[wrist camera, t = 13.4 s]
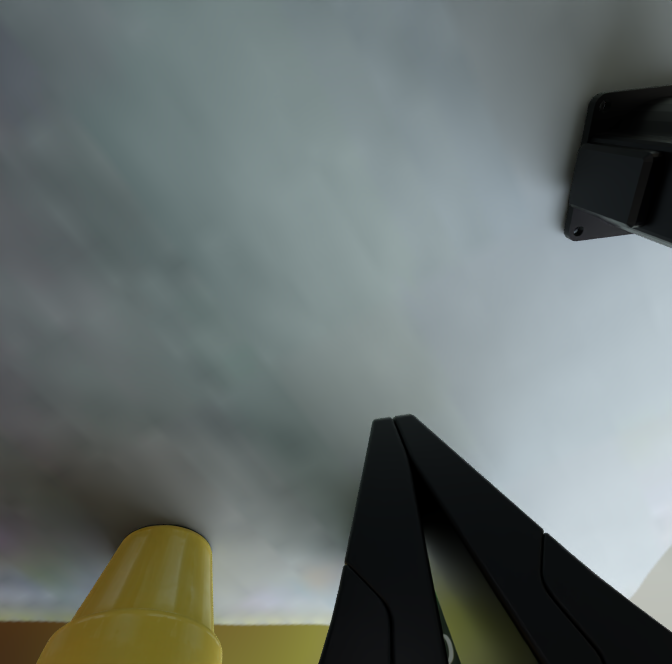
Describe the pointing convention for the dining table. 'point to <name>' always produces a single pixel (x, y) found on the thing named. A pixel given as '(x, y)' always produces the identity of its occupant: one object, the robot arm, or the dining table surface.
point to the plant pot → (145, 606)
